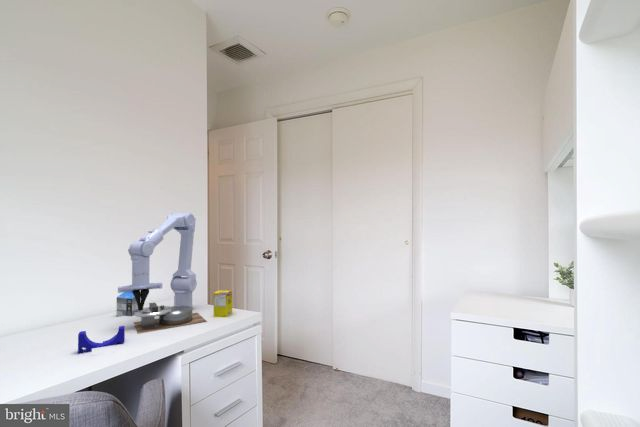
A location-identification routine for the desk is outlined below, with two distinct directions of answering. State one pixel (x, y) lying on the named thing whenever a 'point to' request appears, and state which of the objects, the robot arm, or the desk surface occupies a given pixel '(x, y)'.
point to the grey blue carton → (126, 304)
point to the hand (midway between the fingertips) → (140, 309)
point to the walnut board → (195, 320)
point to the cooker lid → (153, 310)
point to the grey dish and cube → (170, 317)
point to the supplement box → (222, 303)
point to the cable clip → (88, 344)
